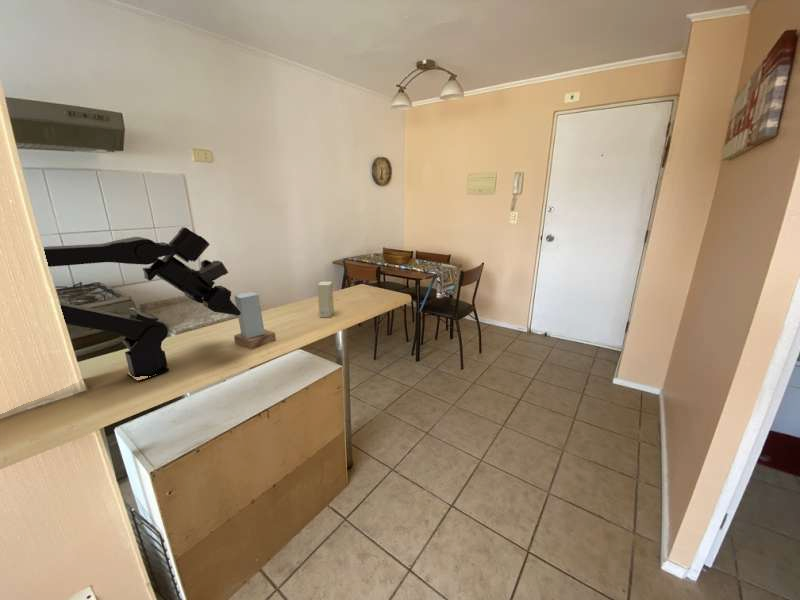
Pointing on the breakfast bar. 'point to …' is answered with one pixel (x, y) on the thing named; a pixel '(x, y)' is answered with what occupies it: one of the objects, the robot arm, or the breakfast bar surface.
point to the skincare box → (325, 299)
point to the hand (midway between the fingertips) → (232, 310)
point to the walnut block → (255, 339)
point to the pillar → (249, 314)
